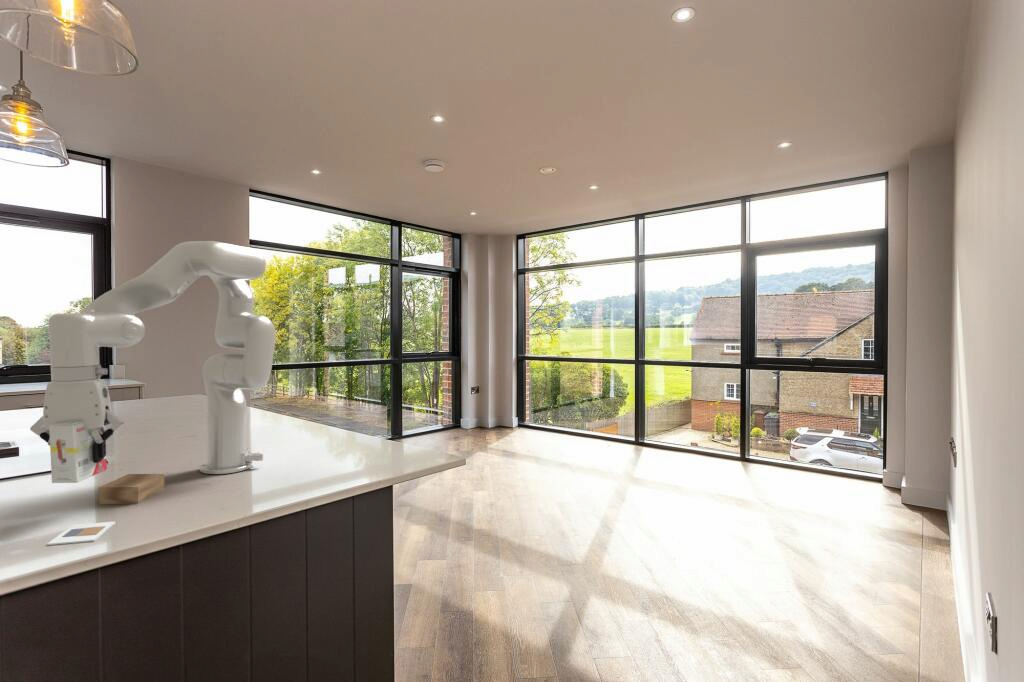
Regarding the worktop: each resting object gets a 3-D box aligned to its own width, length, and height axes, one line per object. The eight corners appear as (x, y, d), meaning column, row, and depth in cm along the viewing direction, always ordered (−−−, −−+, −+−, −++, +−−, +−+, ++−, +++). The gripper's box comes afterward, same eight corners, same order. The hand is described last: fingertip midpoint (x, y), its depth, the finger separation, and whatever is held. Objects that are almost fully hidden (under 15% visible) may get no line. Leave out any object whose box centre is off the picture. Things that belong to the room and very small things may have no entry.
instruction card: (115, 522, 101) (115, 521, 101) (94, 541, 93) (94, 539, 93) (72, 526, 99) (72, 524, 99) (46, 545, 91) (46, 543, 91)
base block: (164, 490, 123) (164, 473, 123) (138, 504, 113) (138, 486, 113) (128, 490, 122) (128, 473, 122) (99, 505, 112) (99, 487, 112)
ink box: (84, 469, 109) (82, 415, 108) (108, 469, 109) (106, 415, 108) (49, 483, 100) (47, 424, 100) (75, 483, 101) (73, 424, 100)
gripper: (133, 371, 110) (136, 454, 111) (34, 373, 104) (38, 460, 106) (118, 375, 103) (121, 464, 104) (11, 378, 97) (15, 471, 98)
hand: (79, 461), depth 105 cm, fingers closed on ink box, 5 cm apart
